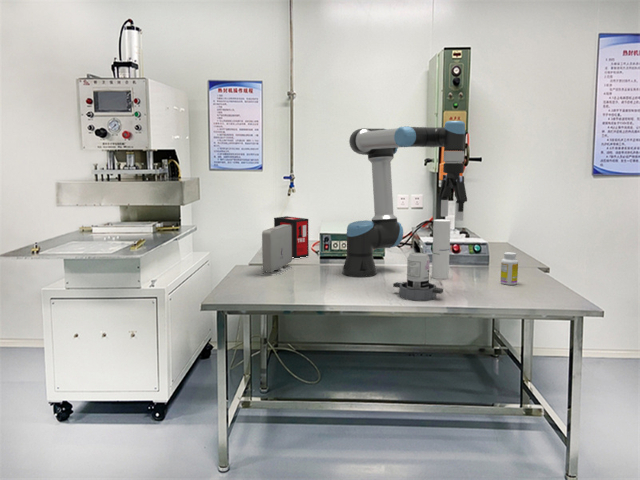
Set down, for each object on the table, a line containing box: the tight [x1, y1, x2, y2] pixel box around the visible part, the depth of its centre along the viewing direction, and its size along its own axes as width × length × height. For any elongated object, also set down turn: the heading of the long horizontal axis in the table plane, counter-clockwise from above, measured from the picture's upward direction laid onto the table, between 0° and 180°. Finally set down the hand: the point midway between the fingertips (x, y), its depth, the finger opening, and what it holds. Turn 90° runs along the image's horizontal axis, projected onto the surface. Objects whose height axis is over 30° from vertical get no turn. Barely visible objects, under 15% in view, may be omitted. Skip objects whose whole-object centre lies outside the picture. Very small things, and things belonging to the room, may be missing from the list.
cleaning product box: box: [273, 215, 310, 259], centre depth 289 cm, size 16×9×20 cm, turn 46°
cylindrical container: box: [431, 218, 452, 280], centre depth 239 cm, size 7×7×25 cm
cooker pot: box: [393, 281, 444, 302], centre depth 209 cm, size 19×14×4 cm
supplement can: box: [406, 252, 431, 290], centre depth 208 cm, size 8×8×15 cm
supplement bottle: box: [500, 251, 519, 286], centre depth 228 cm, size 7×7×13 cm
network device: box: [261, 224, 293, 275], centre depth 253 cm, size 26×9×20 cm, turn 161°
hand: (451, 218), depth 212 cm, fingers open, 13 cm apart
